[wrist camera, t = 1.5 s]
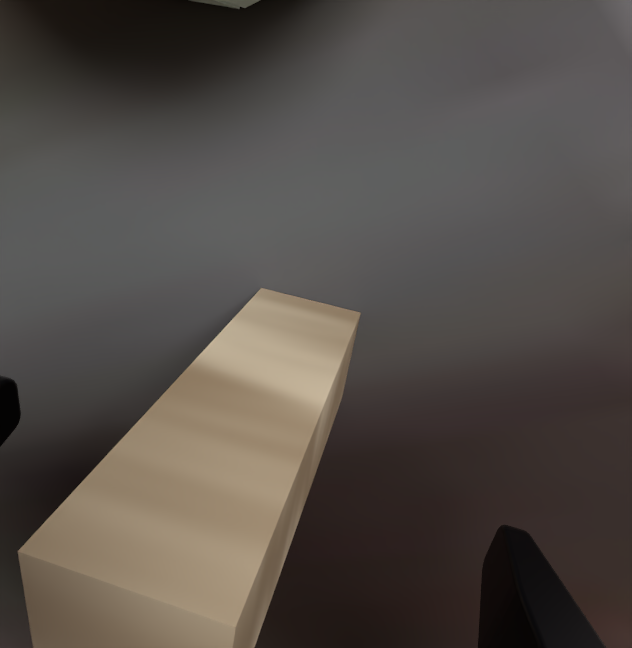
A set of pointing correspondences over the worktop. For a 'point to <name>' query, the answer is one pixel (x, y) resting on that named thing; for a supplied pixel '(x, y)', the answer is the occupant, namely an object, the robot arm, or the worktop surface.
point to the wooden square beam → (197, 492)
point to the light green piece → (229, 3)
